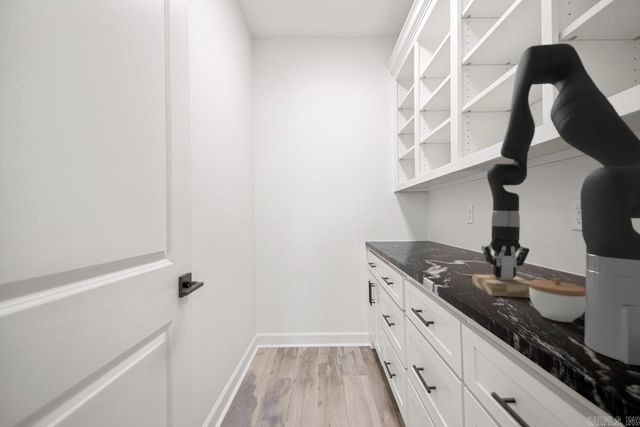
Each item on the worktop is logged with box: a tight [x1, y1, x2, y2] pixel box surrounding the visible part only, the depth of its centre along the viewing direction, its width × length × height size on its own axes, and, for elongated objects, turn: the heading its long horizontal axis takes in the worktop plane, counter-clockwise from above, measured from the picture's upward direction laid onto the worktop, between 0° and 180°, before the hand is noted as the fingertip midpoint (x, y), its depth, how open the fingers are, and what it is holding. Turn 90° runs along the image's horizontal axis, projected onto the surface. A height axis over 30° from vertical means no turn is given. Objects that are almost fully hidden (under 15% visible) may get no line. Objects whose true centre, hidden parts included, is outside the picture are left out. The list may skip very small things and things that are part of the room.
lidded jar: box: [528, 277, 585, 323], centre depth 65 cm, size 11×11×9 cm
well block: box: [471, 273, 530, 298], centre depth 88 cm, size 14×14×4 cm
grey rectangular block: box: [496, 254, 514, 282], centre depth 88 cm, size 4×4×10 cm
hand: (504, 277), depth 88 cm, fingers closed on grey rectangular block, 3 cm apart
